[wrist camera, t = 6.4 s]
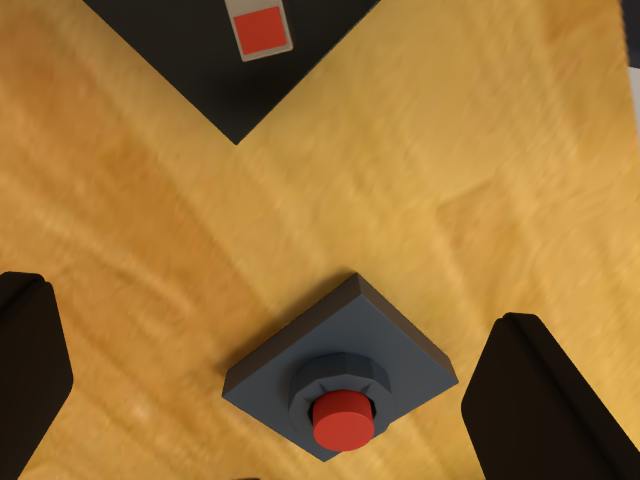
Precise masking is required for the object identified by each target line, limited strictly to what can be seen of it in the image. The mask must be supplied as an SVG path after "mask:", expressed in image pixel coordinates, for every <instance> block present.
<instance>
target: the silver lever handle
mask: <svg viewBox="0 0 640 480" xmlns="http://www.w3.org/2000/svg"><path fill="white" fill-rule="evenodd" d="M224 1H225V5H226V8H227V11H228V15H229V18H230V22H231V25H232V28H233V32H234V35H235V39H236V42H237V45H238V49H239V52H240V56H241V59H242V61H243V62H247V61H251V60H255V59H259V58H262V57H266V56H270V55H274V54H278V53H282V52H286V51H290V50H292V49H293V47H294V44H295V41H296V34H295V29H294V25H293V20H292V16H291V12H290V7H289V3H288V0H224Z"/></svg>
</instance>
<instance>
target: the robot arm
mask: <svg viewBox="0 0 640 480" xmlns="http://www.w3.org/2000/svg"><path fill="white" fill-rule="evenodd" d="M72 386H73V373H72V368H71V364H70V360H69V355H68V351H67V346H66V342H65V338H64V333H63V329H62V325H61V320H60V316H59V311H58V307H57V303H56V298H55V294H54V290H53V287H52V284H51V283H49V282H45V280H44V278H43V277H42V275H40V274H35V273H23V272H11V271H9V272H4V273H3V274H1V275H0V480H17V479H18V477H19V476H20V474H21V473H22V471H23V469H24V468H25V466H26V464H27V463H28V461H29V459H30V458H31V456H32V455H33V453H34V451H35V450H36V448H37V446H38V445H39V443H40V442H41V440H42V438H43V437H44V435H45V433H46V432H47V430H48V428H49V427H50V425H51V424H52V422H53V420H54V419H55V417H56V415H57V414H58V412H59V410H60V409H61V407H62V406H63V404H64V402H65V401H66V399H67V397H68V396H69V394H70V392H71V389H72ZM461 413H462V417H463V420H464V423H465V426H466V428H467V431H468V433H469V436H470V439H471V441H472V444H473V447H474V449H475V452H476V454H477V457H478V460H479V462H480V465H481V468H482V470H483V473H484V476H485V478H486V480H640V452H639V451H638V449H637V448H636V447H635V445H634V444H633V443H632V441H631V440H630V439H629V437H628V436H627V435H626V433H625V432H624V431H623V429H622V428H621V427H620V425H619V424H618V423H617V421H616V420H615V419H614V417H613V416H612V415H611V413H610V412H609V411H608V409H607V408H606V407H605V405H604V404H603V403H602V401H601V400H600V399H599V397H598V396H597V395H596V393H595V392H594V391H593V389H592V388H591V387H590V385H589V384H588V383H587V381H586V380H585V379H584V377H583V376H582V375H581V373H580V372H579V371H578V369H577V368H576V367H575V365H574V364H573V363H572V361H571V360H570V359H569V357H568V356H567V355H566V353H565V352H564V351H563V349H562V348H561V347H560V345H559V344H558V343H557V341H556V340H555V338H554V337H553V336H552V334H551V333H550V332H549V330H548V329H547V328H546V326H545V325H544V324H543V322H542V321H541V320H540V319H539V318H538V317H537V316H536V315H534V314H524V313H512V312H509V313H506V314H505V315H504V316H503V317H502V318H499V319H497V320H496V321H495V323H494V325H493V328H492V330H491V332H490V335H489V337H488V340H487V342H486V344H485V347H484V349H483V352H482V354H481V356H480V359H479V361H478V364H477V366H476V368H475V371H474V373H473V376H472V378H471V380H470V383H469V385H468V388H467V390H466V392H465V395H464V397H463V399H462V403H461Z"/></svg>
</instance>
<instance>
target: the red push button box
mask: <svg viewBox="0 0 640 480" xmlns="http://www.w3.org/2000/svg"><path fill="white" fill-rule="evenodd" d="M458 383H459V381H458V379H457V376H456V374H455V371H454V369H453V366H452V364H451V361H450V359H449V358H448V357H447V356H446V355H445V354H444V353H443V352H442V351H441V350H440V349H439V348H438V347H437V346H435V345H434V344H433V343H432V342H431V341H430V340H429V339H428V338H427V337H426V336H425V335H424V334H423V333H421V332H420V331H419V330H418V329H417V328H416V327H415V326H414V325H413V324H412V323H411V322H410V321H409V320H408V319H406V318H405V317H404V316H403V315H402V314H401V313H400V312H399V311H398V310H397V309H396V308H395V307H394V306H392V305H391V304H390V303H389V302H388V301H387V300H386V299H385V298H384V297H383V296H382V295H381V294H380V293H379V292H377V291H376V290H375V289H374V288H373V287H372V286H371V285H370V284H369V283H368V282H367V281H366V280H365V279H363V278H362V277H361V276H360V275H359V274H358V273H356V274H354V275H353V276H352V277H351V278H349V279H348V280H347V281H345V282H344V283H343V284H341V285H340V286H339V287H337V288H336V289H335V290H333V291H332V292H331V293H329V294H328V295H327V296H326V297H324V298H323V299H322V300H320V301H319V302H318V303H316V304H315V305H314V306H312V307H311V308H310V309H308V310H307V311H306V312H305V313H303V314H302V315H301V316H299V317H298V318H297V319H295V320H294V321H293V322H291V323H290V324H289V325H287V326H286V327H285V328H283V329H282V330H281V331H280V332H278V333H277V334H276V335H274V336H273V337H272V338H270V339H269V340H268V341H266V342H265V343H264V344H262V345H261V346H260V347H259V348H257V349H256V350H255V351H253V352H252V353H251V354H249V355H248V356H247V357H245V358H244V359H243V360H241V361H240V362H239V363H237V364H236V365H235V366H234V367H232V368H231V369H230V370H228V371H227V373H226V378H225V382H224V387H223V391H222V397H223V398H224V399H226V400H227V401H229V402H230V403H232V404H234V405H235V406H237V407H238V408H240V409H241V410H243V411H244V412H246V413H248V414H249V415H251V416H252V417H254V418H255V419H257V420H259V421H260V422H262V423H263V424H265V425H266V426H268V427H270V428H271V429H273V430H274V431H276V432H277V433H279V434H280V435H282V436H284V437H285V438H287V439H288V440H290V441H291V442H293V443H295V444H296V445H298V446H299V447H301V448H302V449H304V450H306V451H307V452H309V453H310V454H312V455H313V456H315V457H317V458H318V459H320V460H321V461H323V462H326V461H327V460H329V459H331V458H333V457H334V456H336V455H338V454H339V453H341V452H343V451H333V450H329V449H326V448H324V447H322V446H321V445H320V444H318V443H317V441H316V440H315V438H314V435H313V405H314V403H315V401H316V399H317V398H318V397H320V396H321V395H323V394H324V393H326V392H329V391H335V390H340V389H347V390H353V391H358V392H361V393H363V394H364V395H365V396H366V397H367V398H368V400H369V402H370V405H371V411H372V418H373V424H374V434H373V437H372V438H371V439H373V438H374V437H376V436H378V435H380V434H381V433H383V432H385V430H386V429H387V428H388V426H389V424H390V423H392V422H393V421H395V420H397V419H398V418H400V417H402V416H403V415H405V414H407V413H409V412H410V411H412V410H414V409H415V408H417V407H419V406H420V405H422V404H424V403H425V402H427V401H429V400H430V399H432V398H434V397H436V396H437V395H439V394H441V393H442V392H444V391H446V390H447V389H449V388H451V387H452V386H454V385H456V384H458Z"/></svg>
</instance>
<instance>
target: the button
mask: <svg viewBox="0 0 640 480" xmlns="http://www.w3.org/2000/svg"><path fill="white" fill-rule="evenodd" d="M373 434H374V424H373V418H372V411H371V405H370V402H369V400H368V398H367V397H366V396H365V395H364V394H363V393H361V392H358V391H353V390H347V389H340V390H335V391H329V392H326V393H324V394H323V395H321V396H320V397H318V398H317V399H316V401H315V403H314V405H313V435H314V438H315V440H316V441H317V443H318V444H320V445H321V446H322V447H324V448H326V449H329V450H333V451H351V450H355V449H358V448H360V447H362V446H364V445H365V444H367V443H368V442H369V441H370V440H371V438H372V437H373Z"/></svg>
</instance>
